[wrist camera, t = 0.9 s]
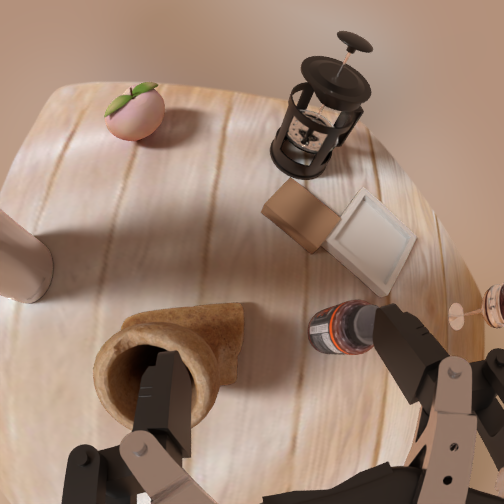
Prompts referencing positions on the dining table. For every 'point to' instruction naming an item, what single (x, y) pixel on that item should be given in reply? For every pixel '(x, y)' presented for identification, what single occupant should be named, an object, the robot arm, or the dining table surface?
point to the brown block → (300, 215)
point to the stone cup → (169, 339)
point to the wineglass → (482, 309)
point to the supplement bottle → (343, 328)
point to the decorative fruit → (135, 112)
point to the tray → (370, 242)
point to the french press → (330, 95)
